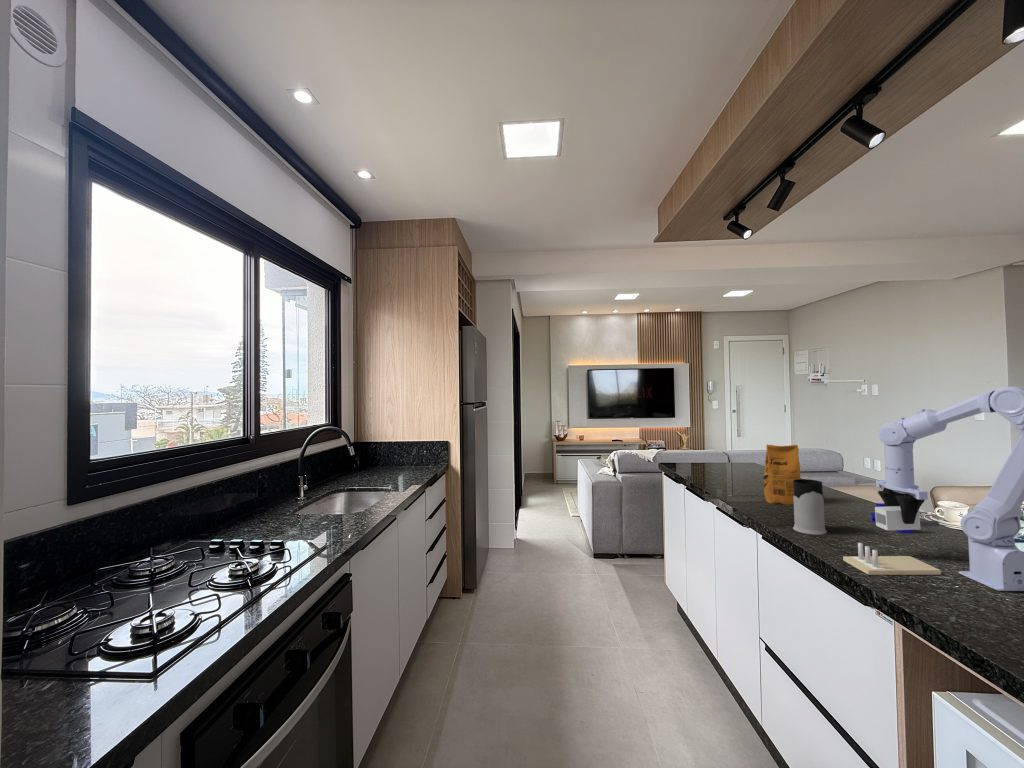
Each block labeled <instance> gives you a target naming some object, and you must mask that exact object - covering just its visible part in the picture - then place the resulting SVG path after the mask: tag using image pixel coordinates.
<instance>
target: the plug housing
mask: <svg viewBox="0 0 1024 768" xmlns="http://www.w3.org/2000/svg"><path fill="white" fill-rule="evenodd" d="M874 513H875V517H876V523H875V526H876V527H878V528H880V529H882V530H886V531H896V530H913V531H915V530H917V531H919V530H921V529H922V528H928V527H930V528H932V527H936V528H937V527H939V526H940V522H939V521H938V520H924V521H923V520H921V517H920V515H921V514H920V509H919V510H918V512H917V515H916V518H915V522H914V524H904V523H903V520H902V514H901V508H900V506H888V507H876V506H874Z"/></svg>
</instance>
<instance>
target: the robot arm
mask: <svg viewBox="0 0 1024 768" xmlns="http://www.w3.org/2000/svg"><path fill="white" fill-rule="evenodd" d="M982 413H989V414H990V413H997V414H998V415H1000V416H1001V417H1003V419H1005V420H1006V421H1008V422H1009V423H1011V424H1012V425H1013V426H1014V427H1015V429H1016V430H1017V432H1019V433H1020V436H1019V438H1018V439H1017V441H1016V443H1015V444H1014V447H1013V449H1012V450H1011V452H1010V454H1009V456H1008V457H1007V459H1006V461H1005V463H1004V464H1003V466H1002V468H1001V470H1000V472H999V473H998V475H997V477H996V478H995V480H994V482H993V483H992V485H991V488H990V490H988V493H987V494H986V496H985V497H984V498H983V499H982V500H980V501H979V502H978V503H977V504H976V505H975V506H974V507H973V509H972V510H971V511H970V512H968V513H966V514H964V515H963V516H962V517H961V519H960V527H961V530H962V531H963V533H964V534H965V535H966V536H967V540H968V543H967V544H968V562H969V570H965V571H964V570H959V571H958V574H960V575H962V576H964V577H966V578H969V579H971V580H973V581H975V582H978V583H979V584H982V585H984V586H987V587H989V588H991V589H993V590H995V591H998V592H1024V551H1022V550H1020V549H1019V548H1018V547H1017V545H1016V540H1015V538H1014V536H1016V535H1018V534H1019V532H1020V531H1021V526H1022V525H1021V518H1022V515H1023V514H1024V512H1023V510H1022V509H1021V506H1022V505H1023V503H1024V386H1002V387H1000V388H998V389H996V390H990V391H985V392H983V393H981V394H980V393H979V394H978V395H975V396H972V397H971V398H968V399H965V400H963V401H960V402H958V403H955V404H953V405H951V406H949V407H945V408H944V409H941V410H939V411H938V410H934V409H925V408H924V409H922V408H921V409H919V410H916V414H913V415H910V416H908V417H899V418H898V419H897V422H885V423H884V424H882V425H881V426H880V427H879V428H878V431H877V435H878V438H879V440H880V441H881V443H882V444H883V451H884V456H883V457H884V473H885V474H884V475H885V479H876V480H875V487H876V488H878V489H882V490H878V492H877V494H878V496H879V497H880V498H881V499H882V501H883V503H885V506H886V507H888V506H900V508H901V514H902V520H903V523H904V524H914V522H915V518H916V515H917V512H918V510H919V511H920V508H921V507H922V505H923V503H924V502H925V501H926V500H928V499H929V498H928V497H929V496H928V491H925V490H923V489H921V488H920V486H919V485H917V484H916V483H915V467H914V443H915V442H916V441H917V440H920V439H923V438H926V437H928V436H929V437H930V436H933V435H935V434H938V433H941V432H944V431H945V430H946V428H947V426H948V424H950V423H953V422H957V421H959V420H963V419H966V418H970V417H972V416H976V415H978V414H982Z"/></svg>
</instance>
